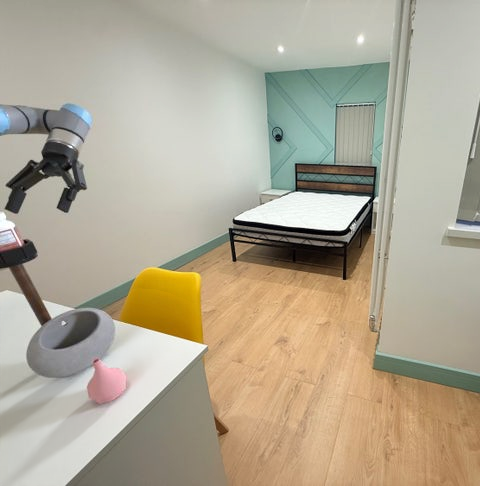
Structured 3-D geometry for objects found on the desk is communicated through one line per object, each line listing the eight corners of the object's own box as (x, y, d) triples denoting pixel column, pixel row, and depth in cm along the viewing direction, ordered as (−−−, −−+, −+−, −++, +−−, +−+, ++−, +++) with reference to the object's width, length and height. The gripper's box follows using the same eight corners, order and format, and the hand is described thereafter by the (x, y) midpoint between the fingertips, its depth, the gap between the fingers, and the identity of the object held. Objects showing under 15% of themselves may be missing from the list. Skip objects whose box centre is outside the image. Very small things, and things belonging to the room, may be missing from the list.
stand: (42, 372, 74) (-21, 270, 61) (59, 351, 81) (7, 256, 68) (73, 366, 76) (19, 266, 62) (88, 346, 82) (42, 252, 69)
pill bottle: (6, 253, 67) (-16, 211, 62) (36, 250, 68) (15, 209, 64) (-16, 264, 61) (-43, 219, 57) (16, 261, 63) (-7, 217, 58)
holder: (-26, 271, 60) (-35, 256, 59) (6, 255, 68) (-2, 241, 66) (21, 266, 62) (12, 251, 61) (46, 251, 70) (39, 238, 68)
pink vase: (84, 408, 64) (65, 373, 59) (110, 381, 71) (94, 347, 66) (115, 410, 64) (97, 375, 59) (137, 382, 71) (123, 349, 66)
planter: (51, 398, 66) (16, 342, 59) (40, 387, 70) (5, 332, 62) (129, 348, 82) (109, 299, 74) (117, 341, 85) (96, 292, 77)
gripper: (113, 157, 83) (94, 216, 75) (33, 158, 82) (5, 218, 75) (94, 139, 76) (71, 203, 68) (6, 140, 75) (-28, 204, 68)
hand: (36, 211), depth 71 cm, fingers open, 13 cm apart
